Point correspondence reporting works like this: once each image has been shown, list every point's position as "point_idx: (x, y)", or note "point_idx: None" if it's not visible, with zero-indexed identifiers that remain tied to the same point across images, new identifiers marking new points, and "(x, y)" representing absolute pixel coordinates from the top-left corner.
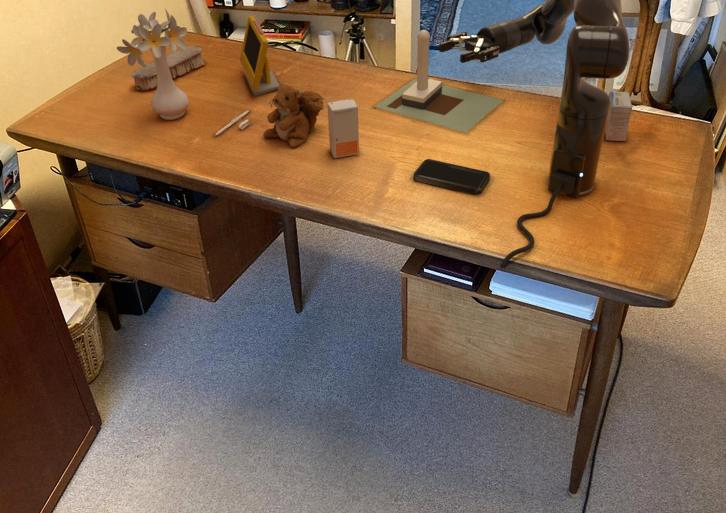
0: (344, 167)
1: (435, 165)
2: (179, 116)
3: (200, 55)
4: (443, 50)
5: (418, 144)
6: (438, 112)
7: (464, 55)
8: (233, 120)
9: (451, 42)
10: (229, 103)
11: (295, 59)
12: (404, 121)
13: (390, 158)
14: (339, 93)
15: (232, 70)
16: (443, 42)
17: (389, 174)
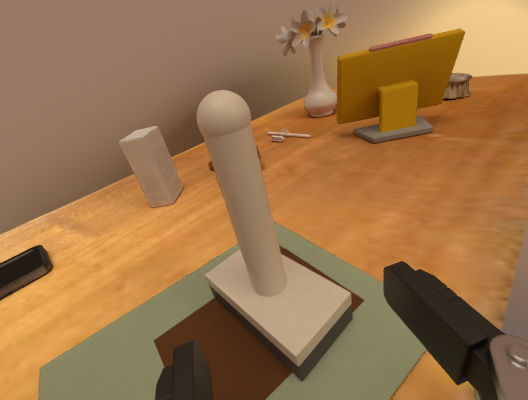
0: (140, 198)
1: (21, 272)
2: (313, 115)
3: (455, 86)
4: (397, 309)
5: (107, 268)
6: (178, 329)
7: (175, 365)
8: (287, 132)
9: (462, 346)
10: (338, 127)
11: (516, 138)
12: (195, 259)
13: (112, 233)
14: (350, 186)
15: (440, 112)
16: (423, 280)
17: (84, 231)
